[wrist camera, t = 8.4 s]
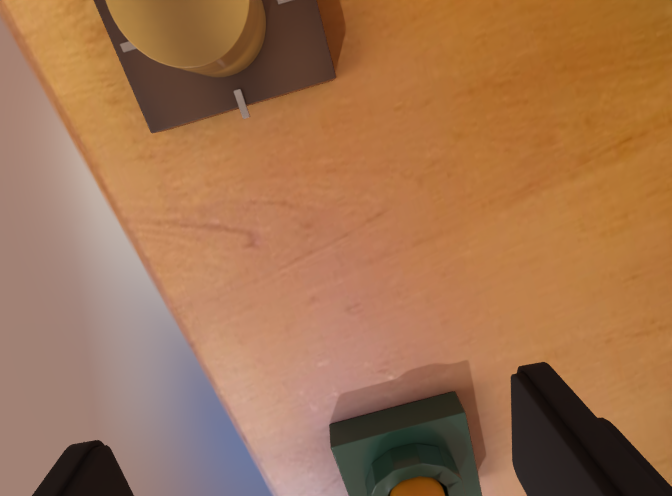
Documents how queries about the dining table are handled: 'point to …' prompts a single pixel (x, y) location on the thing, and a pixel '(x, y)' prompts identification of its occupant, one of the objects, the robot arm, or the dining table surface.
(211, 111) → the dimmer
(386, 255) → the dining table surface
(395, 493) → the button
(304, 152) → the dining table surface
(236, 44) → the knob
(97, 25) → the dining table surface
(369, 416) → the switch box
